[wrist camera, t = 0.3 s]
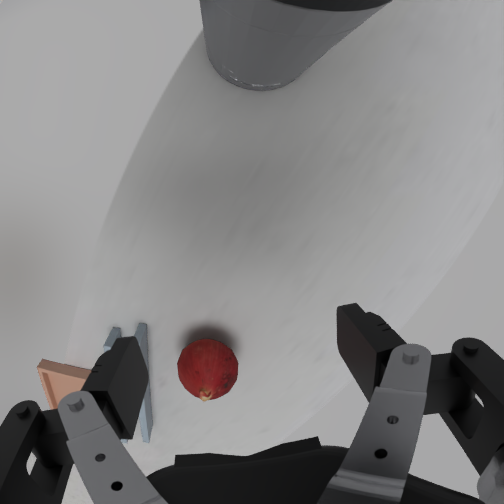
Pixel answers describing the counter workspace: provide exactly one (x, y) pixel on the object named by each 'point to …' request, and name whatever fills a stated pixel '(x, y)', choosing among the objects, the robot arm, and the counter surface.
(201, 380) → the pomegranate
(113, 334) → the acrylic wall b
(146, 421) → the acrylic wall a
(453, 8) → the counter surface
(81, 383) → the terracotta dish
